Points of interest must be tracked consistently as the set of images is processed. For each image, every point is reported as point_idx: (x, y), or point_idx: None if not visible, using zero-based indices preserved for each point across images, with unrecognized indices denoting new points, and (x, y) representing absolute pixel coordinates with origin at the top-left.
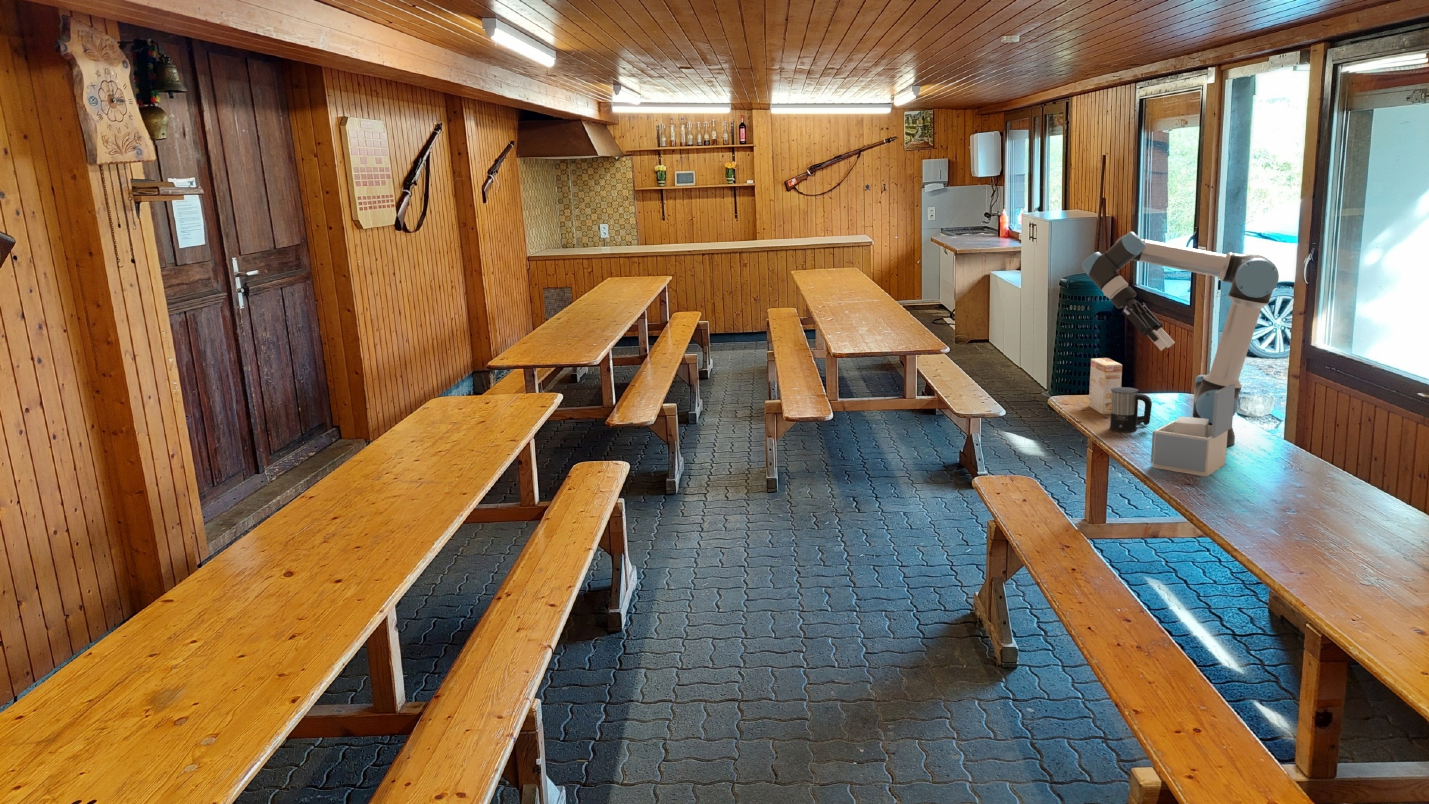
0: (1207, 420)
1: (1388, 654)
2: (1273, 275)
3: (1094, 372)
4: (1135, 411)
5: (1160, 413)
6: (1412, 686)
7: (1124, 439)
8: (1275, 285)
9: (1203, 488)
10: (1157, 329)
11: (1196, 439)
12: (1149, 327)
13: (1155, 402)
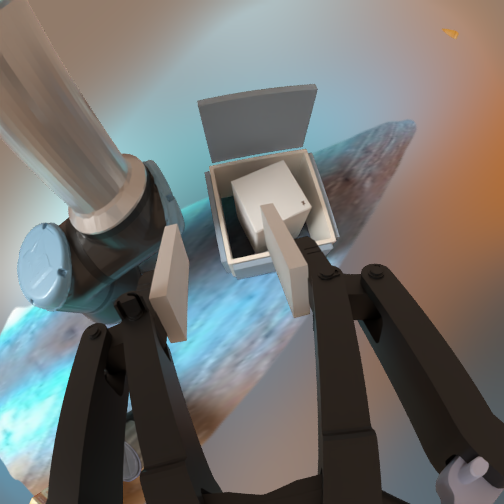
0: (245, 176)
1: (448, 34)
2: None
3: None
4: (126, 420)
5: (36, 418)
6: (456, 31)
7: (199, 395)
8: None
9: (345, 159)
10: (161, 327)
11: (316, 166)
12: (339, 283)
13: (8, 440)
